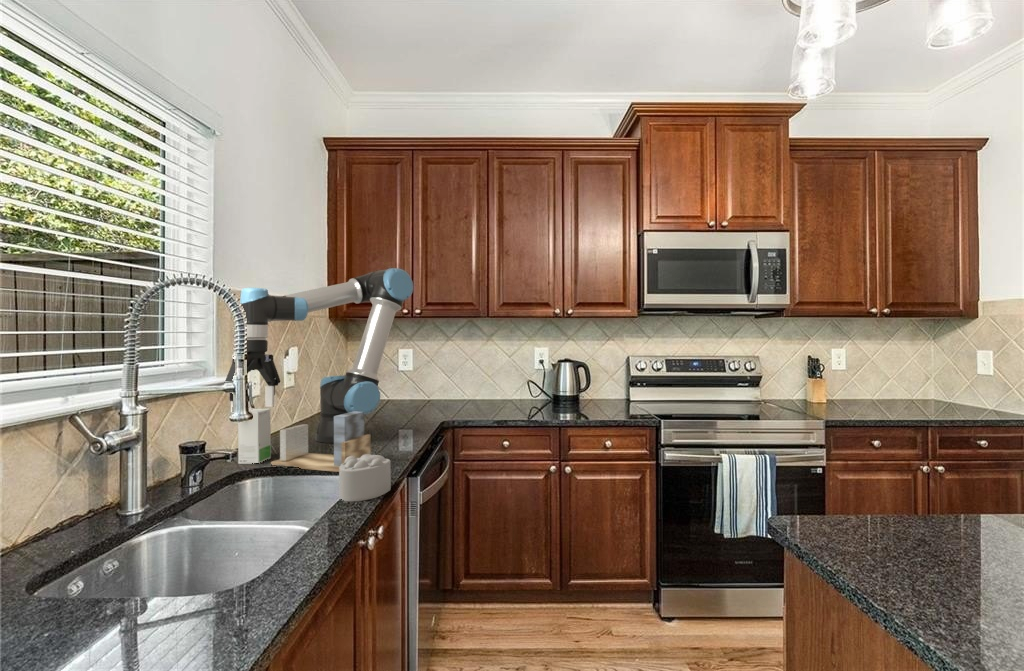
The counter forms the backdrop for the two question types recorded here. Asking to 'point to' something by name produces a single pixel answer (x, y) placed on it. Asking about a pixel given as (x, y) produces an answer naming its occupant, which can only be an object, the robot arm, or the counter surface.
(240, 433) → the skincare box
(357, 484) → the lumpy-topped squat cylinder
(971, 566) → the counter surface
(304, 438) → the grey rectangular slab
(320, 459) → the book rack
